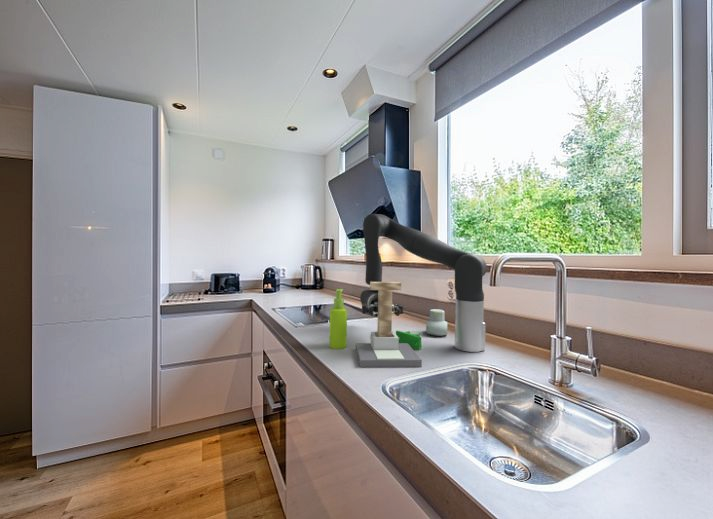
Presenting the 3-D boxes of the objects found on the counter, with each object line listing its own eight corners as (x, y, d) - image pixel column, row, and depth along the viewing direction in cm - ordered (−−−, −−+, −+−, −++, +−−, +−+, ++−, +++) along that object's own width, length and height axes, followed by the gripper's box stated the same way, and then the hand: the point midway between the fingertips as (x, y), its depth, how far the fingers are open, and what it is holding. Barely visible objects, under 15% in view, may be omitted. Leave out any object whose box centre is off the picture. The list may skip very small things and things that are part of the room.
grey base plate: (407, 348, 109) (407, 331, 108) (421, 366, 92) (422, 346, 92) (355, 349, 107) (356, 331, 107) (360, 367, 90) (360, 346, 90)
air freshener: (426, 330, 136) (427, 307, 136) (446, 332, 134) (447, 308, 133) (425, 336, 125) (426, 311, 125) (447, 338, 123) (447, 313, 123)
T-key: (397, 344, 106) (399, 282, 106) (400, 348, 102) (401, 283, 102) (368, 344, 105) (369, 281, 105) (369, 348, 101) (371, 282, 101)
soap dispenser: (347, 343, 113) (348, 288, 113) (345, 349, 106) (346, 290, 106) (331, 342, 114) (332, 288, 114) (327, 348, 107) (329, 290, 107)
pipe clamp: (425, 349, 110) (426, 336, 110) (418, 350, 108) (419, 337, 107) (402, 341, 119) (402, 329, 119) (395, 342, 116) (395, 330, 116)
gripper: (359, 294, 118) (363, 301, 102) (396, 294, 119) (406, 301, 103) (359, 314, 118) (363, 323, 102) (396, 314, 119) (406, 324, 103)
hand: (385, 312), depth 103 cm, fingers open, 8 cm apart
